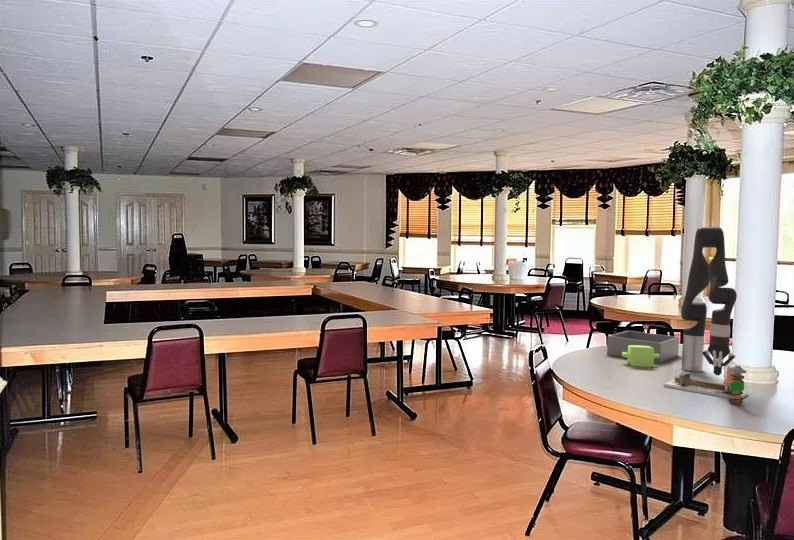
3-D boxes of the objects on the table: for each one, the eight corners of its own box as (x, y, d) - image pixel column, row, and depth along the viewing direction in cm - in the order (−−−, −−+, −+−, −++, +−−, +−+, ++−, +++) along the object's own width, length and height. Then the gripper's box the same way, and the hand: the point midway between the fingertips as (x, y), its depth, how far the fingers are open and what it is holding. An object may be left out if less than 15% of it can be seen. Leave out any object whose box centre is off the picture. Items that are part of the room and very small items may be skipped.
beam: (676, 380, 282) (677, 370, 282) (741, 391, 265) (742, 381, 264) (671, 383, 276) (671, 373, 276) (736, 395, 259) (737, 384, 259)
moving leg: (726, 388, 268) (727, 366, 268) (734, 389, 266) (735, 367, 266) (721, 391, 263) (722, 369, 262) (729, 392, 261) (730, 370, 260)
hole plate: (673, 381, 284) (673, 378, 284) (747, 395, 264) (747, 391, 264) (663, 386, 275) (663, 383, 275) (740, 400, 255) (740, 397, 255)
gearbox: (656, 363, 323) (657, 345, 323) (662, 367, 314) (663, 348, 313) (620, 361, 325) (621, 343, 325) (625, 366, 315) (626, 347, 315)
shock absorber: (728, 400, 255) (730, 363, 254) (746, 403, 251) (748, 366, 250) (724, 403, 250) (727, 366, 249) (742, 407, 246) (745, 368, 245)
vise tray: (627, 347, 364) (628, 330, 364) (678, 355, 346) (679, 337, 345) (606, 354, 344) (607, 335, 343) (659, 362, 325) (660, 343, 324)
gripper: (739, 335, 267) (736, 376, 268) (705, 331, 275) (703, 371, 276) (734, 337, 261) (732, 379, 262) (700, 333, 270) (698, 373, 271)
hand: (717, 375), depth 269 cm, fingers closed
